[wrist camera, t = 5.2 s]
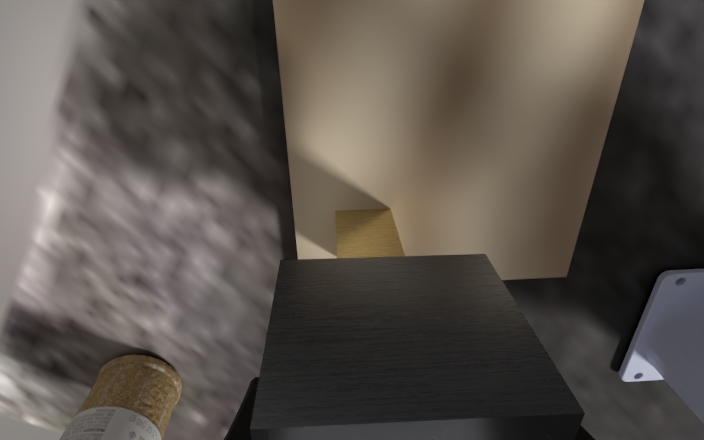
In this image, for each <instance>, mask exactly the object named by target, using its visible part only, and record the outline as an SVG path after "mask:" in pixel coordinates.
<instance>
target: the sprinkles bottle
mask: <svg viewBox="0 0 704 440" xmlns="http://www.w3.org/2000/svg"><path fill="white" fill-rule="evenodd" d="M181 391H182V384H181V379H180V377H179V375H178V373H177V372H176V371H175V370H174V369H173V368H172V367H171V366H169V365H168V364H167V363H165V362H163V361H161V360H159V359H156V358H153V357H151V356H145V355H125V356H122V357H119V358H115V359H113V360H111V361H109V362H107V363H106V364H105V365H104V366H102V368H101V370H100V372H99V374H98V376H97V379H96V383H95V384H94V386H93V387H92V389H91V391H90V393H89V395H88V397H87V398H86V400H85V401H84V403H83V405H82V406H81V408H80V409H79V411H78V413H77V414H76V416H75V417H74V418H73V419H72V420H71V422H70V423H69V425H68V426H67V428H66V430H65V431H64V433H63V435H62V437H61V438H60V440H162V438H163V435H164V432H165V429H166V426H167V424H168V421H169V418H170V416H171V413H172V411H173V408H174V406H175V404H176V403H177V402H178V400H179V398H180V395H181Z"/></svg>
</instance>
